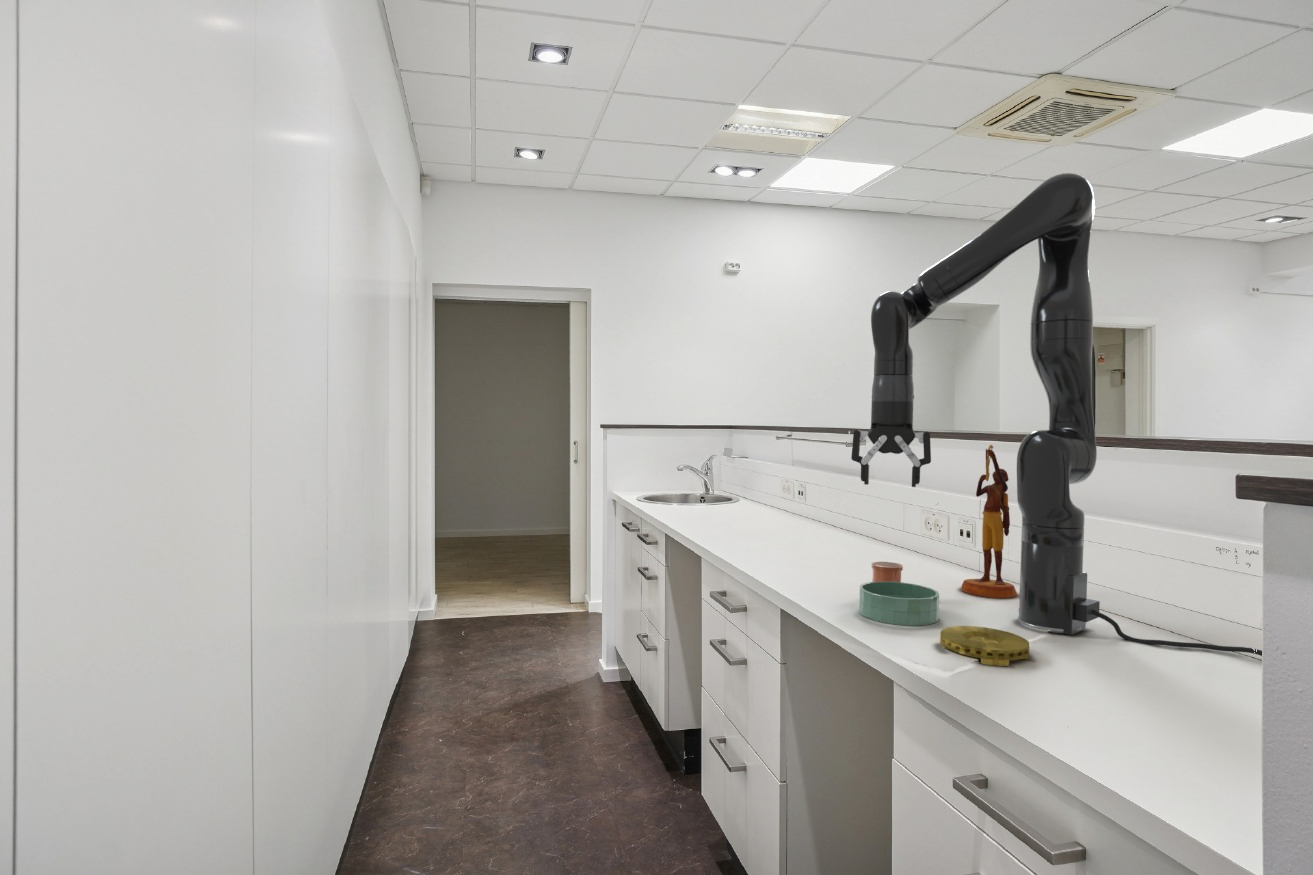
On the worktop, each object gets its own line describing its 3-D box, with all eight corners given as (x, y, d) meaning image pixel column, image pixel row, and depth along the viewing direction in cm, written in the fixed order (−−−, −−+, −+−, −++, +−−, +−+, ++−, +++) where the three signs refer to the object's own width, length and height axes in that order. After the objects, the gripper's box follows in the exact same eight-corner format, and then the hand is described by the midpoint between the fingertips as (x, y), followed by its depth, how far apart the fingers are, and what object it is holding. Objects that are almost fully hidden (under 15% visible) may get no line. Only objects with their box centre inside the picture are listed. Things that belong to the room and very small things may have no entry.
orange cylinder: (907, 601, 136) (908, 565, 136) (890, 606, 133) (891, 568, 132) (881, 595, 141) (882, 560, 140) (864, 599, 137) (865, 563, 137)
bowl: (952, 620, 123) (953, 592, 123) (911, 633, 115) (912, 603, 115) (886, 604, 133) (886, 578, 133) (843, 615, 125) (844, 587, 125)
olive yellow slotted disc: (998, 671, 98) (999, 655, 98) (923, 647, 108) (923, 632, 108) (1045, 656, 105) (1045, 642, 105) (970, 635, 115) (970, 622, 115)
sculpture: (951, 588, 148) (955, 443, 148) (991, 585, 151) (995, 444, 151) (986, 599, 139) (991, 445, 138) (1028, 597, 142) (1033, 446, 141)
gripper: (851, 399, 134) (849, 485, 135) (932, 399, 129) (930, 489, 130) (855, 400, 141) (853, 482, 142) (932, 401, 136) (930, 486, 137)
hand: (889, 485), depth 136 cm, fingers open, 8 cm apart
